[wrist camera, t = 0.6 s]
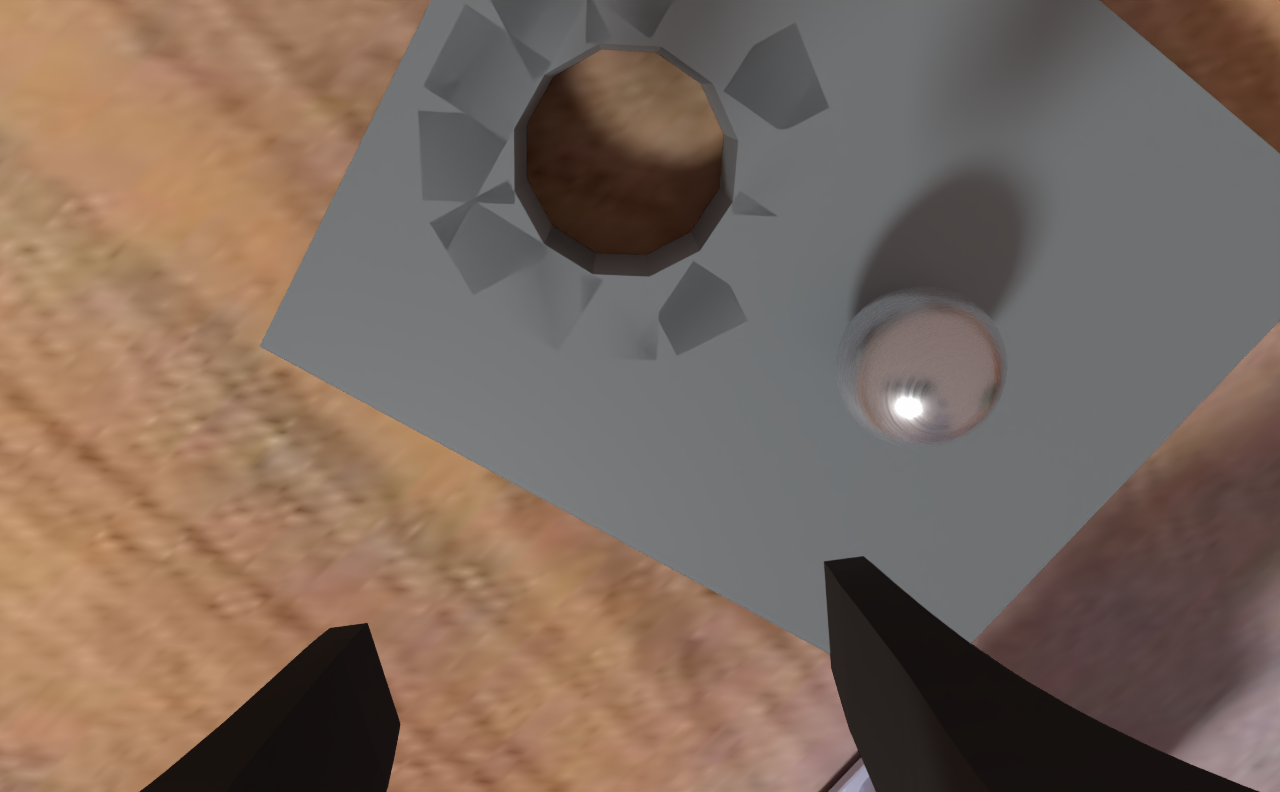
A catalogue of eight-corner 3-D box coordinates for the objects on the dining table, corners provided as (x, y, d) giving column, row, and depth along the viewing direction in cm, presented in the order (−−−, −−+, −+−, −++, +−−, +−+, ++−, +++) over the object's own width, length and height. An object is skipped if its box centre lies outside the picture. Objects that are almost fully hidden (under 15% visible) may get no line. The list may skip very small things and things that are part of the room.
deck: (1281, 212, 20) (1367, 228, 18) (888, 643, 25) (916, 700, 23) (628, -329, 16) (629, -400, 14) (299, 317, 21) (259, 346, 18)
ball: (996, 321, 19) (1077, 370, 15) (901, 436, 20) (958, 505, 16) (881, 241, 18) (940, 275, 15) (789, 364, 19) (825, 422, 16)
